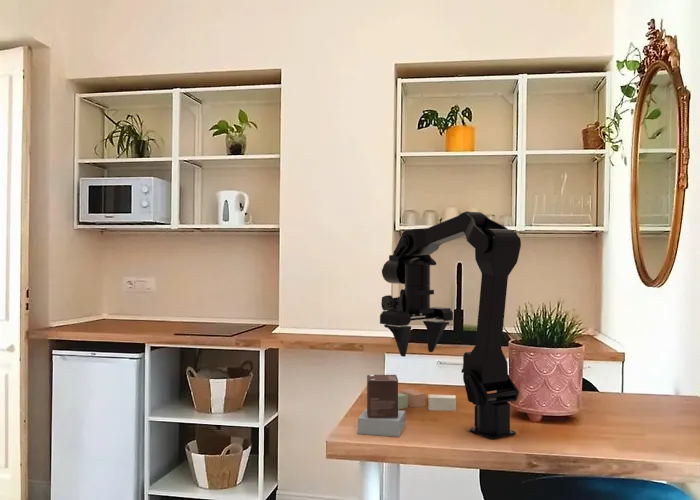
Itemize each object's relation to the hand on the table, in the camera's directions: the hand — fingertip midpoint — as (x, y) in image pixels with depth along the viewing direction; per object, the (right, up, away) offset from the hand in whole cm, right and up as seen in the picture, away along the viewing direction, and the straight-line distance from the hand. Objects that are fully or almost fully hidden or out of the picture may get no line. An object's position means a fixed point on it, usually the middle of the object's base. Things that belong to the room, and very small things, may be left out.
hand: (417, 354), depth 143 cm
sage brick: (-5, -12, -1) cm, 13 cm away
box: (-9, -9, -18) cm, 22 cm away
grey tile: (-9, -12, -18) cm, 24 cm away
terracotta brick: (-1, -12, +3) cm, 13 cm away
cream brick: (+5, -12, -1) cm, 13 cm away
